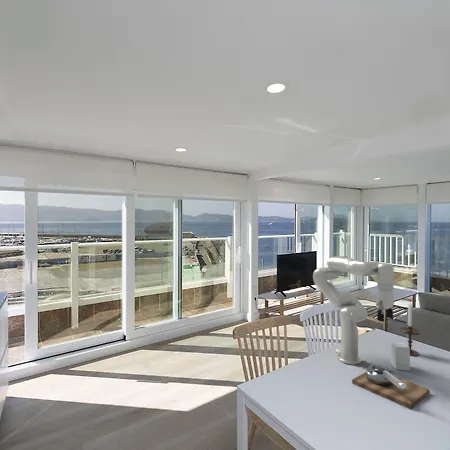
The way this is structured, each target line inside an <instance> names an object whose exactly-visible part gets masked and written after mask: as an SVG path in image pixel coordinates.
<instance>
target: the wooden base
mask: <svg viewBox="0 0 450 450" xmlns="http://www.w3.org/2000/svg"><path fill="white" fill-rule="evenodd" d="M394 376H395V375H394ZM395 377H396V378H398V379H399V380H400V381H402V382H404V383H406V391H402V390H400V389H399V388H398V387H397V386H396V385H394V384H392V385H390V386H381V385H377V384H374V383H372V382H370V381H369V380H367V378H366V371H365V372H363V373H362V374H360V375H357V376H355V377H354V378H352V379H351V382H352V384H353V385H354V386H356V387H359V388H362V389H364V390H366V391H369V392H371V393H373V394H375V395H377V396H379V397H382V398H384V399H386V400H388V401H391V402H393V403H396V404H397V405H399V406H402V407H404V408H407V409H409V410H412V409H413V408H414V407H415V406H416V405H418V404H419V403H420V402H421V401H423V400H424V399H425V398H426V397H428V396H429V395H430V393H431V392H430V390H431V389H430V388H427V387H424V386H421V385H419V384H416V383H414V382H412V381H409V380H406V379H404V378H401V377H398V376H397V375H396V376H395Z"/></svg>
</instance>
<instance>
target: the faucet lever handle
mask: <svg viewBox="0 0 450 450" xmlns="http://www.w3.org/2000/svg"><path fill="white" fill-rule="evenodd" d="M365 370H366V371H365V372H366V378H367V380H369V381H370V382H372V383H374V384H377V385H381V386H390V385H392V384H394V385H396V386H397V387H398V388H399V389H400V390H402V391H406V383H404V382H402V381H400V380H399V379H398V378H399V377H398V378H396V377H397V376H396V377H395V375H394V373H393V370H392V369H391V368H386V367H382V366H377V365H376V364H374V363H372V364H370V365H369V366H368V367H366V369H365Z"/></svg>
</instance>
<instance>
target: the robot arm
mask: <svg viewBox="0 0 450 450" xmlns="http://www.w3.org/2000/svg"><path fill="white" fill-rule="evenodd" d="M394 272H395V271H394V265H393V264H392V263H387V262H380V261H377V260H374V261H356V260H354V259H353V258H351V257H346V256H344V255H340V256H338V255H337V256H331V257H330V258H328V259H327V262H326V266H325V267H319V268H317V269H315V270H314V271H313V274H312V279H313V283H314V284H315V286H316V287H317V289H318V290H319V291H320V292H322V294H323V295H324V297H326V299H327V300H328V301H329V303H330V304H331V305H332V306H333V307H334V308H335V309H340V310H339V313H338V314H339V321H340V322H339V323H340V348H338V347H336V349H335V353H336V354H338V356H337V357H338V358H337V359H338V361H340V362H341V363H344V364H346V365H350V366H351V365H352V366H353V365H354V366H356V365H360V364H361V363H362V359H361V358H360V357H359V329H358V326H357V323H358V322H362V321H365V320H366V319H367V318H368V310H367V309H366V307H365V306H364V305H363V304H362V303H361V301H360V300H359V299H358V298H357V297H356V296H355V295H354V294H353V293H352V292H351V291H347V290H346V291H340V290H339V289H338V288H337V287H336V286H335V285H334V284H332V283H331V282H330V281H333V280H337V279H338V278H340V277H341V276H342V275H343V274H344V273H349V274H350V275H354V276H361V277H371V276H377V282H376V284H377V285H376V286H377V291H376V299H375V308H376V314H377V316H376V317H377V319H376V320H377V321H379V322H383V323H384V322H385V314H384V312H385V313H386V318H388V319H393V318H394V307H395V306H394V305H395V301H394V274H395V273H394Z"/></svg>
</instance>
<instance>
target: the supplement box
mask: <svg viewBox="0 0 450 450" xmlns="http://www.w3.org/2000/svg"><path fill="white" fill-rule="evenodd" d="M390 347H391V365H392V366H393V368H394V369H395V370H398V371H399V370H400V371H410V370H411V356H410V348H409V346H408V344H406V343H405V342H393V341H392V342H391V346H390Z"/></svg>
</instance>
